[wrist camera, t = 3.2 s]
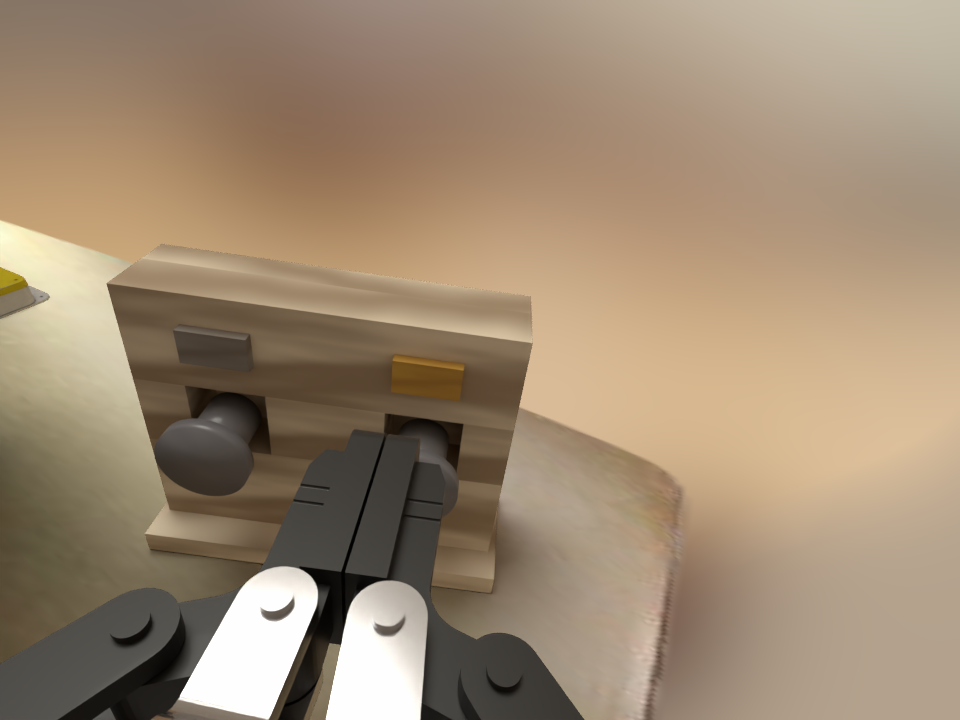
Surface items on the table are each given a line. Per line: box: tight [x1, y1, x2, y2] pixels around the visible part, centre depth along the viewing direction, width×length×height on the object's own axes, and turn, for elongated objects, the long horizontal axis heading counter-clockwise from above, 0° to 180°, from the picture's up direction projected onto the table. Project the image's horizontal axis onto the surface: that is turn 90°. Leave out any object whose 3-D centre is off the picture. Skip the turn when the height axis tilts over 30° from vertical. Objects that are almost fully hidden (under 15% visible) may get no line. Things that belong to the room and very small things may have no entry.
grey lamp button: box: [154, 392, 262, 496], centre depth 30 cm, size 4×5×5 cm
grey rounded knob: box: [398, 419, 459, 517], centre depth 31 cm, size 4×5×5 cm
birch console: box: [107, 244, 533, 593], centre depth 34 cm, size 8×22×18 cm, turn 87°
